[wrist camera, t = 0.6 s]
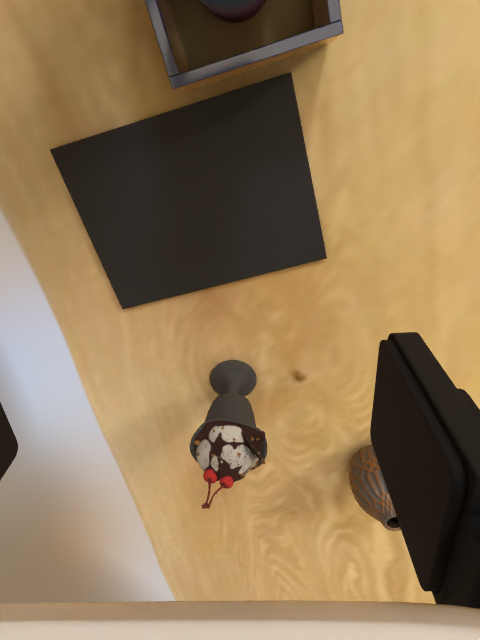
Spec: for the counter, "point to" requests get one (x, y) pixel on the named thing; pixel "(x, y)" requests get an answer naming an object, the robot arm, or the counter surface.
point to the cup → (234, 9)
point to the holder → (183, 79)
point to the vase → (372, 488)
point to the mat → (198, 194)
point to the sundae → (229, 429)
